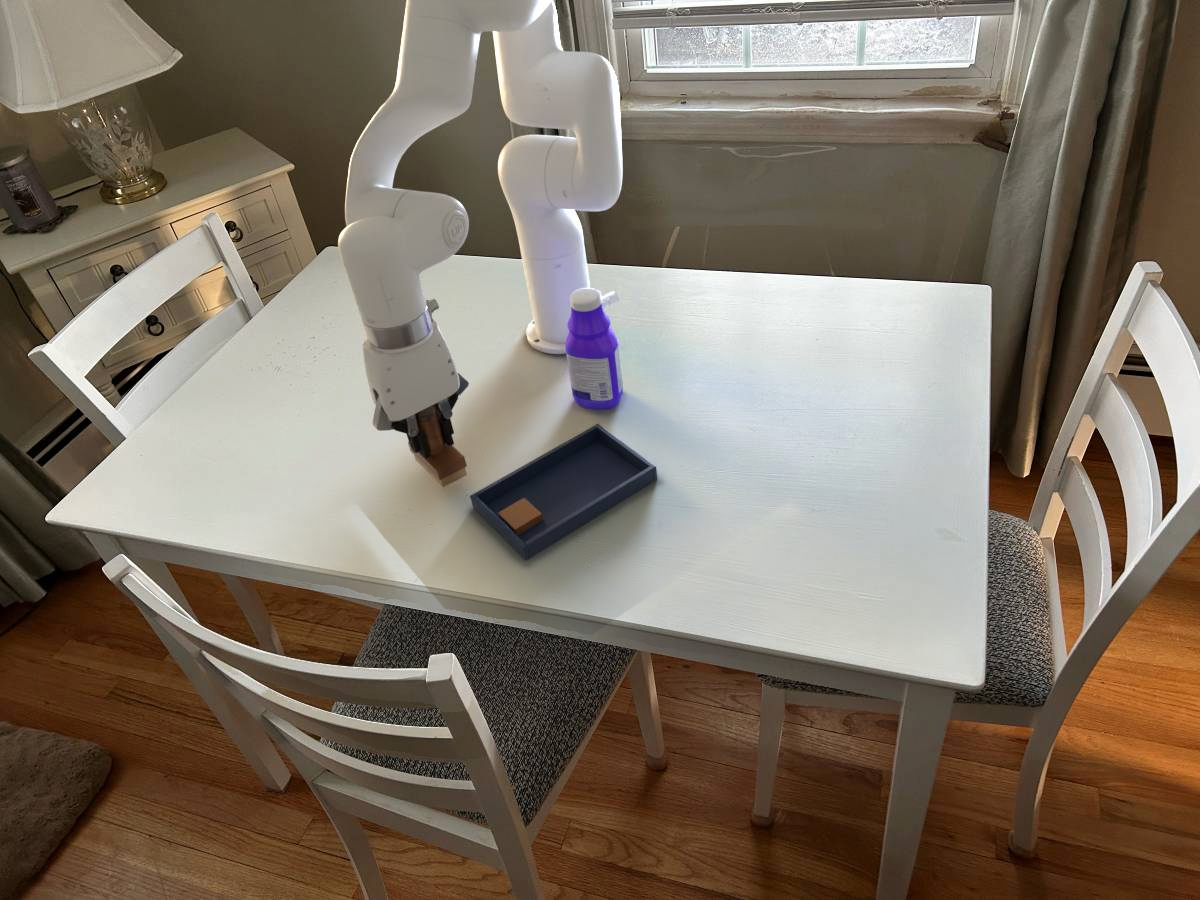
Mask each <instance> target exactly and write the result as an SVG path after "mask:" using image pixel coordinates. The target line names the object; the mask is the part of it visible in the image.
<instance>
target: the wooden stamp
mask: <svg viewBox="0 0 1200 900" xmlns="http://www.w3.org/2000/svg"><path fill="white" fill-rule="evenodd" d="M415 417H416V422H417V426H418V428H419V429H420V430H421V431H422V432H423V434H424V436H425V439H426V443H427V446H428V449H429V453H430V456H429V458H427V459H425V458H424V457H423V456H422V455H421V454H420V453H419V452H418V453H415V452H414V451H413V450H412V448H411V446H410V443H409V441H407V445H408V448H409V450H410V453H412V455H413V457H414V460H415V461H416V463H418V464H419V465H420V466H421V467H422V468H423V469H424V470H425V472H427V473H428V474H429V475H430V476H431V477H432V478H433V479H434V480H435V481H436V482H437V483H438V484H439V486H441V487H442V488H443V489H444V488H445V487H448V486H449V485H451V484H453V483H455V482H457V481H459V480H460V479H462V478H464V477H466V476H467V475H468V472H467V469H466V467H467V466H468V465H467V461H466V457H465V456H464V455H463V454H462V453H461V452H460V451H459V450H458V449H457V448H456V447H455V446H454V445H452V446H450V445H449V446H448V445H447V444H446V443H445V440H444V437H443V433H442V430H441V426H440V423H439V420H438V416H437V407H436V404H434V405H432V406H430V407H428V408H426V409H424V410H422V411H420V412H418V413H416V414H415Z"/></svg>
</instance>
